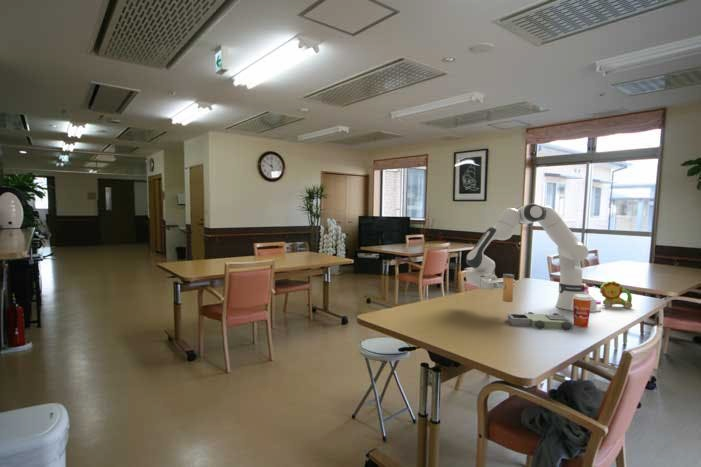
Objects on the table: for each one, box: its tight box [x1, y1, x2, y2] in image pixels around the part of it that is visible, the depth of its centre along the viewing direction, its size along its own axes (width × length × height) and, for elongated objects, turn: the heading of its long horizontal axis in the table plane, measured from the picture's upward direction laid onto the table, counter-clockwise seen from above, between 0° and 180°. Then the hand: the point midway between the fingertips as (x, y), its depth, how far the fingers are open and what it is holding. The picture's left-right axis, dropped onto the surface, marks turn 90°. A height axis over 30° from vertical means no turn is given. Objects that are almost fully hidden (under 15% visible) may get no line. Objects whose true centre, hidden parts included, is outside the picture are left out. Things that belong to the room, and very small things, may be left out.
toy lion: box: [599, 280, 633, 309], centre depth 229 cm, size 16×5×15 cm, turn 72°
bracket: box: [585, 289, 602, 305], centre depth 241 cm, size 13×6×7 cm, turn 23°
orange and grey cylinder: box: [502, 273, 515, 303], centre depth 203 cm, size 5×5×14 cm
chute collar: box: [507, 313, 532, 327], centre depth 194 cm, size 9×9×4 cm
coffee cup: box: [572, 294, 592, 328], centre depth 191 cm, size 8×8×15 cm
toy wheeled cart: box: [524, 311, 574, 331], centre depth 192 cm, size 18×16×4 cm
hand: (509, 286), depth 202 cm, fingers closed on orange and grey cylinder, 5 cm apart
